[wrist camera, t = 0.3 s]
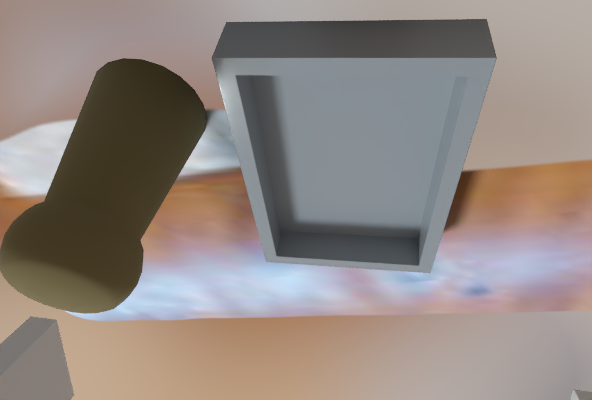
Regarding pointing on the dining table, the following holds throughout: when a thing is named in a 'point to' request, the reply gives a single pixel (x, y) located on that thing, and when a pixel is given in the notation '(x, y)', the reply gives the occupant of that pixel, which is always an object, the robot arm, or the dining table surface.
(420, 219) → the trough
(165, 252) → the dining table surface
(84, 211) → the cork
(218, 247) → the dining table surface
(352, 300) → the dining table surface
